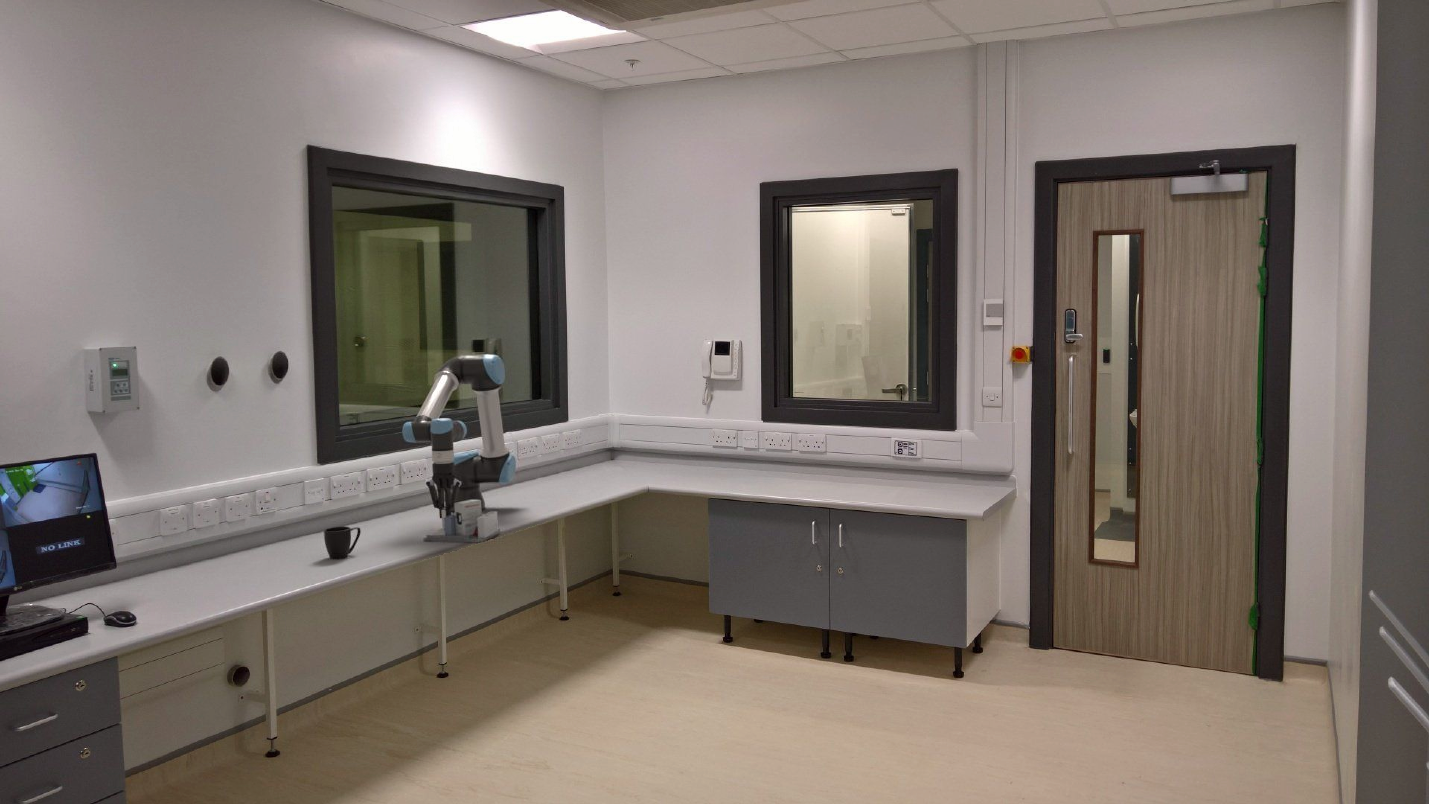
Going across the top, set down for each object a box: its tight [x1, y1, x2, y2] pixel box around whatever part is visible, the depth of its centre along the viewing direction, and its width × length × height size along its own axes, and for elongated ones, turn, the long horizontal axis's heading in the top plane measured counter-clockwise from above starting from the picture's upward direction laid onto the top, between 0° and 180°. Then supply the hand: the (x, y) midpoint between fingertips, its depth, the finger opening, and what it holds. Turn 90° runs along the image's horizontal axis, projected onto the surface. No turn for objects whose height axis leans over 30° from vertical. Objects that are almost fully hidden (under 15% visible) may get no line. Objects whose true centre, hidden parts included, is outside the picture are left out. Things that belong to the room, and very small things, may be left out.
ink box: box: [454, 499, 483, 535], centre depth 357 cm, size 9×5×12 cm, turn 143°
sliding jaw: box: [444, 512, 456, 535], centre depth 358 cm, size 12×2×7 cm, turn 170°
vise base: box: [422, 510, 501, 543], centre depth 358 cm, size 16×22×8 cm
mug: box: [323, 526, 361, 560], centre depth 332 cm, size 8×12×10 cm
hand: (445, 527), depth 359 cm, fingers closed
